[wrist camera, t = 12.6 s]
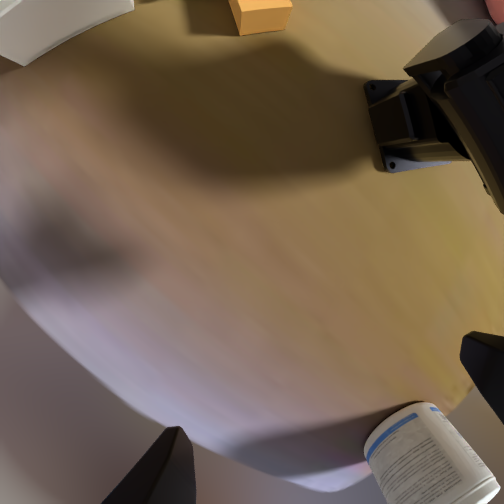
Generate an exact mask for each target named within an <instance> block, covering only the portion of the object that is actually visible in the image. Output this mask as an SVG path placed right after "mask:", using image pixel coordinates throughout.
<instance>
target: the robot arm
mask: <svg viewBox="0 0 504 504" xmlns="http://www.w3.org/2000/svg"><path fill="white" fill-rule="evenodd" d="M403 69H404V71H405V72H406V73H407V74H408V75H409V76H410V77H411V76H412V77H413V78H412V79H410V80H371V81H368V82H366V83H365V84H364V90H365V94H366V97H367V100H368V104H369V113H370V117H371V121H372V125H373V128H374V133H375V137H376V141H377V144H378V145H379V147H380V151H381V156H382V161H383V166H384V169H385V170H386V172H388V173H396V172H401V171H407V170H413V169H419V168H425V167H431V166H437V165H444V164H450V163H451V162H452V161H472V163H473V165H474V166H475V168H476V170H477V172H478V174H479V176H480V178H481V179H482V181H483V183H484V184H483V186H484V188H485V190H486V192H487V194H489V195H490V196H491V197H492V199H493V201H494V203H495V205H496V206H497V208H498V209H499V211H500V212H501V213H502V214H504V22H502V23H500V24H498V25H496V26H494V25H493V24H492V22H491V21H490V20H489V19H463V20H459V21H458V22H456V23H454V24H453V25H451V26H450V27H448V28H446V29H445V30H443V31H442V32H440V33H439V34H437V35H436V36H435V37H434V38H433V39H432V40H431V41H430V42H429V43H428V44H427V45H426V46H425V47H424V48H423V49H422V50H421V51H420V52H419V53H418V54H417V55H416V56H415V57H414V58H413V59H412V60H411V61H410V62H409V63H408V64H407V65H406V66H405V67H404V68H403ZM369 85H370V86H372V87H373V90H371V89H370V86H369ZM390 162H391V163H392V165H393V167H392V169H391V168H390V166H389V165H390ZM460 361H461V363H462V364H463V366H464V367H465V369H466V371H467V372H468V374H469V375H470V377H471V379H472V380H473V382H474V383H475V385H476V387H477V388H478V390H479V391H480V393H481V394H482V396H483V397H484V399H485V400H486V401H487V403H488V404H489V405H490V407H491V408H492V409H493V411H494V412H495V413H496V415H497V416H498V418H499V419H500V420H501V422H502V423H503V425H504V337H503V336H498V335H492V334H487V333H482V332H477V331H472V332H470V333H468V334H466V335H465V336H464V337H463V339H462V344H461V350H460ZM101 504H196V481H195V470H194V456H193V446H192V444H191V441H190V440H189V438H188V437H187V435H186V433H185V432H184V430H183V429H182V428H181V427H180V426H174V427H167V428H166V429H165V430H164V431H163V432H162V434H161V435H160V436H159V437H158V438H157V440H156V441H155V442H154V443H153V444H152V446H151V447H150V448H149V449H148V450H147V451H146V453H145V454H144V455H143V456H142V458H141V459H140V460H139V461H138V462H137V463H136V464H135V466H134V467H133V468H132V469H131V470H130V471H129V472H128V474H127V475H126V476H125V477H124V478H123V479H122V481H121V482H120V483H119V484H118V485H117V486H116V487H115V488H114V489H113V491H112V492H111V493H110V494H109V495H108V496H107V497H106V498H105V499H104V501H103V502H102V503H101Z"/></svg>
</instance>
